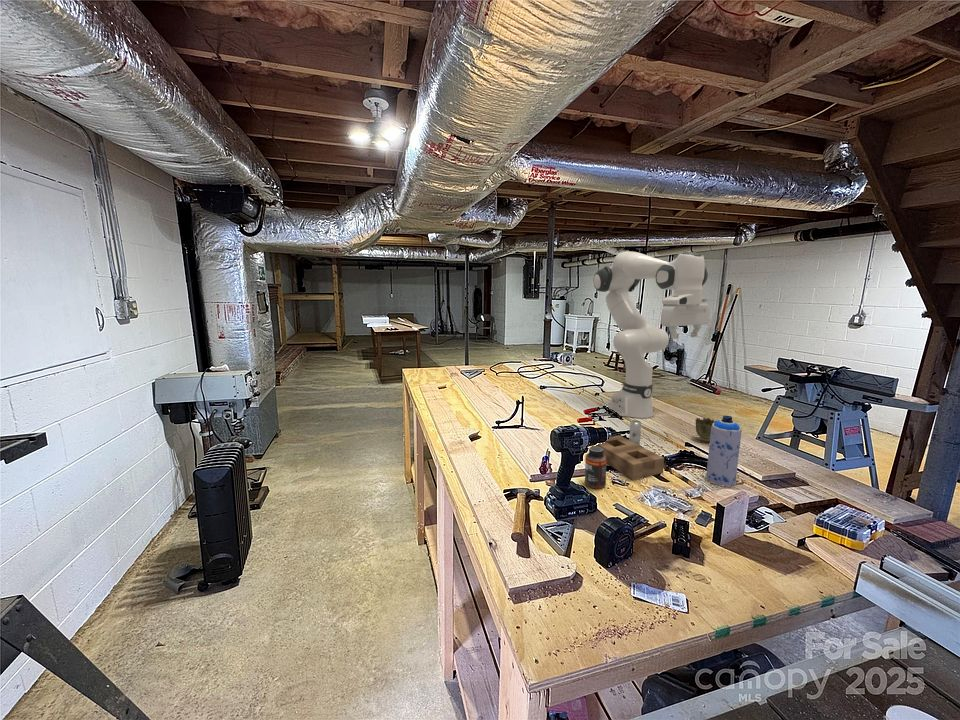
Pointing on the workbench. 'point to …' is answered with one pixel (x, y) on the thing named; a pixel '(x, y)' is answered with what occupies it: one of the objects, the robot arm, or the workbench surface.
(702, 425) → the cup
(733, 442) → the aerosol can
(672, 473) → the workbench surface
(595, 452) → the supplement bottle
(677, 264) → the robot arm
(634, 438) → the peg
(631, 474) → the socket block
